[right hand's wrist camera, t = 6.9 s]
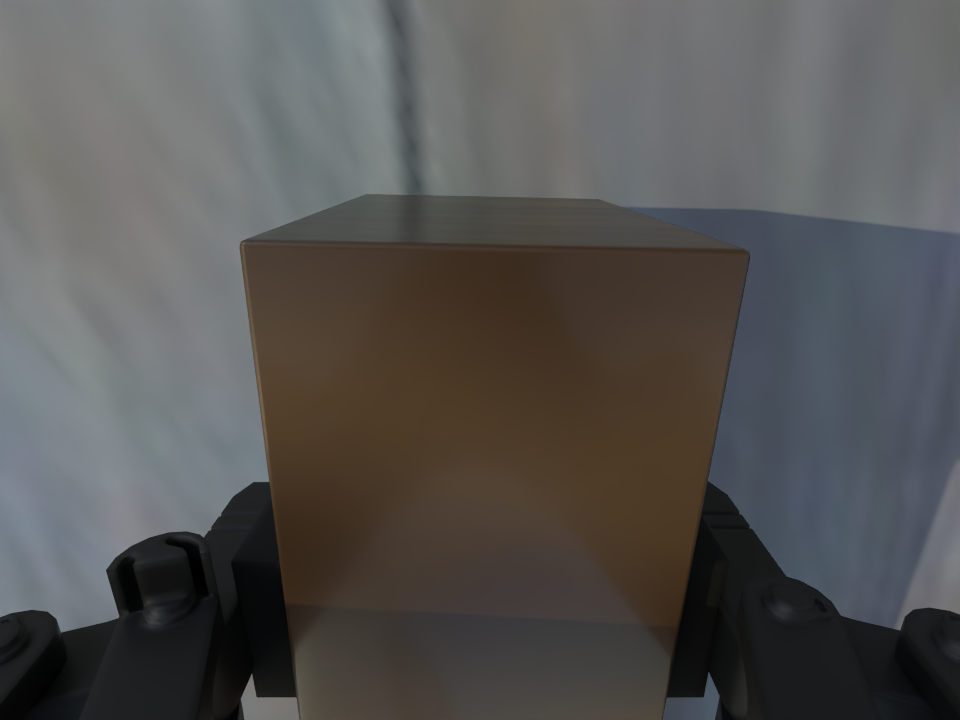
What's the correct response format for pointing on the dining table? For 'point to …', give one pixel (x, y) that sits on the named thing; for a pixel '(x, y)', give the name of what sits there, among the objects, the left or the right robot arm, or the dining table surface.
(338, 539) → the post
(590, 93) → the dining table surface
